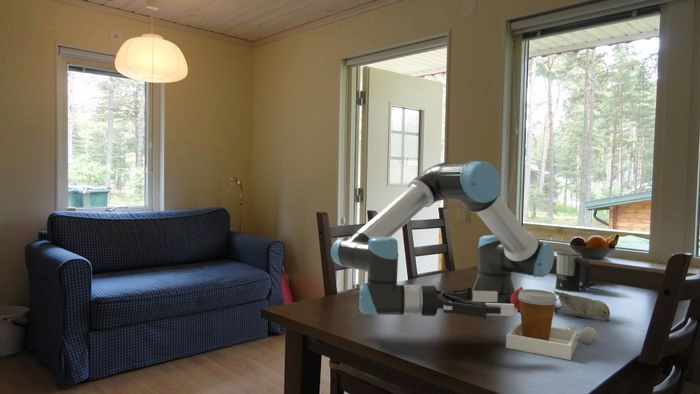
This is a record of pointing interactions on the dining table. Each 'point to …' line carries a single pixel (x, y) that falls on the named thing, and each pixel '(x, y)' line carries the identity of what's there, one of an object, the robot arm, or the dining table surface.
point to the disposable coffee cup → (536, 313)
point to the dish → (544, 342)
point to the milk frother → (572, 272)
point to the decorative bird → (582, 306)
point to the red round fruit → (516, 298)
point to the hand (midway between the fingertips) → (504, 302)
